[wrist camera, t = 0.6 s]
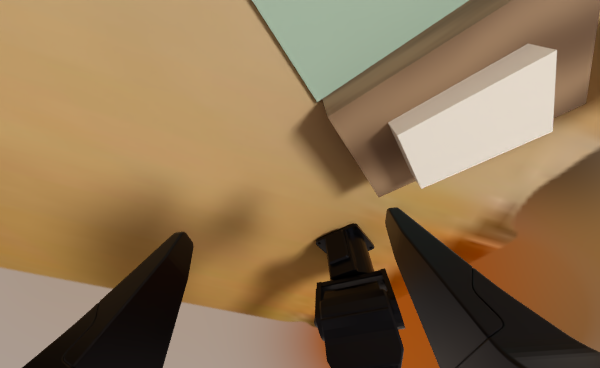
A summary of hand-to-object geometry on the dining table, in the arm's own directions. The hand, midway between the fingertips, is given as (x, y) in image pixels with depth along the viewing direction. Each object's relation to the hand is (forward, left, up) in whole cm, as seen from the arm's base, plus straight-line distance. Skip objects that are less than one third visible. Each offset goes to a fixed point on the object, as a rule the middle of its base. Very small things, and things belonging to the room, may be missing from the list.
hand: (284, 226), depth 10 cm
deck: (-6, -11, -13) cm, 18 cm away
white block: (-7, -11, -9) cm, 16 cm away
